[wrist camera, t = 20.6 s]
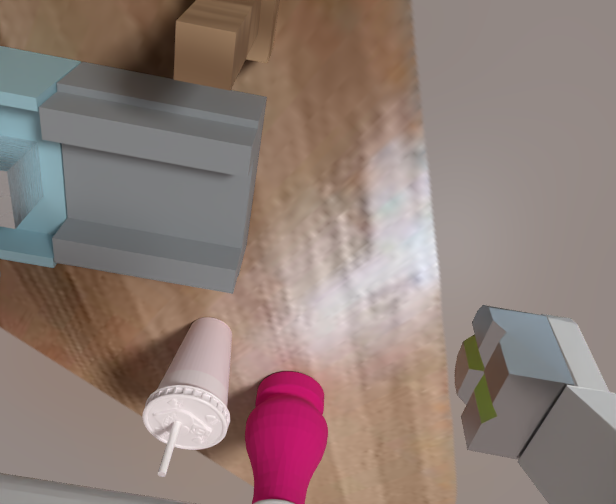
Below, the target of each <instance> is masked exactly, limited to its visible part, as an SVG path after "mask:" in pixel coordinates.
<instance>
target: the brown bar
mask: <svg viewBox="0 0 616 504" xmlns="http://www.w3.org/2000/svg"><path fill="white" fill-rule="evenodd" d="M279 2H280V0H196V1H195V2H194V3H193V4H192V5H191V6H190V7H189V8H188V9H187V10H186V11H185V12H184V13H183V14H182V15H181V16H180V17H179V18H178V19H177V20H176V32H175V57H174V80H177V81H183V82H188V83H193V84H198V85H203V86H209V87H214V88H219V89H224V90H229V91H230V90H231V88H232V86H233V84H234V82H235V80H236V78H237V76H238V74H239V72H240V70H241V68H242V66H243V64H244V62H245V60H246V59H247V60H252V61H257V62H263V63H268V61H269V58H270V55H271V53H272V50H273V46H274V39H275V31H276V24H277V17H278V9H279Z"/></svg>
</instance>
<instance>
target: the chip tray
mask: <svg viewBox="0 0 616 504" xmlns="http://www.w3.org/2000/svg"><path fill="white" fill-rule="evenodd" d="M80 63H81V61H76V60H71V59H66V58H61V57H55V56H50V55H45V54H40V53H34V52H29V51H24V50H19V49H14V48H8V47H3V46H0V135H3V136H9V137H14V138H19V139H25V140H30V141H36V142H38V149H39V158H40V167H41V176H42V185H43V194H44V197H43V198H42V199H41V200H40V201H39V202H38V203H37V205H36V206H35V207H34V208H33V209H32V210H31V212H30V213H29V214H28V215H27V216H26V217H25V218H24V220H23V221H22V222H21V223H20V224H19V225H18V227H17V228H16V229H12V228H6V227H1V226H0V259H4V260H10V261H16V262H22V263H27V264H33V265H39V266H45V267H50V268H54V267H55V266H56V264H57V263H55V261H54V251H53V242H52V238H53V236H54V235H55V234H56V232H57V231H58V230H59V228H60V227H61V226H62V224H63V223H64V222H65V220H66V219H67V218H68V216H67V204H66V192H65V179H64V167H63V155H62V143H58V142H52V141H47V140H42V134H41V124H40V114H39V106H40V105H42V104H43V103H44V102H45V101H46V100H47V99H49V98H50V97H51V96H52V95H53V94H55V93H56V92H57V82H58V81H60V80H61V79H62V78H63V77H65V76H66V75H67V74H68V73H69V72H71V71H72V70H73V69H74V68H75V67H77V66H78V65H79V64H80Z"/></svg>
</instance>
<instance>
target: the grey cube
mask: <svg viewBox="0 0 616 504" xmlns="http://www.w3.org/2000/svg"><path fill="white" fill-rule="evenodd" d="M43 197H44V194H43V185H42V176H41V167H40V158H39V149H38V142H36V141H30V140H25V139H19V138H14V137H9V136H3V135H0V226H1V227H6V228H12V229H16V228H17V227H18V225H19V224H20V223H21V222H22V221H23V220H24V218H25V217H26V216H27V215H28V214H29V213H30V212H31V210H32V209H33V208H34V207H35V206H36V205H37V203H38V202H39V201H40V200H41V199H42V198H43Z"/></svg>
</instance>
